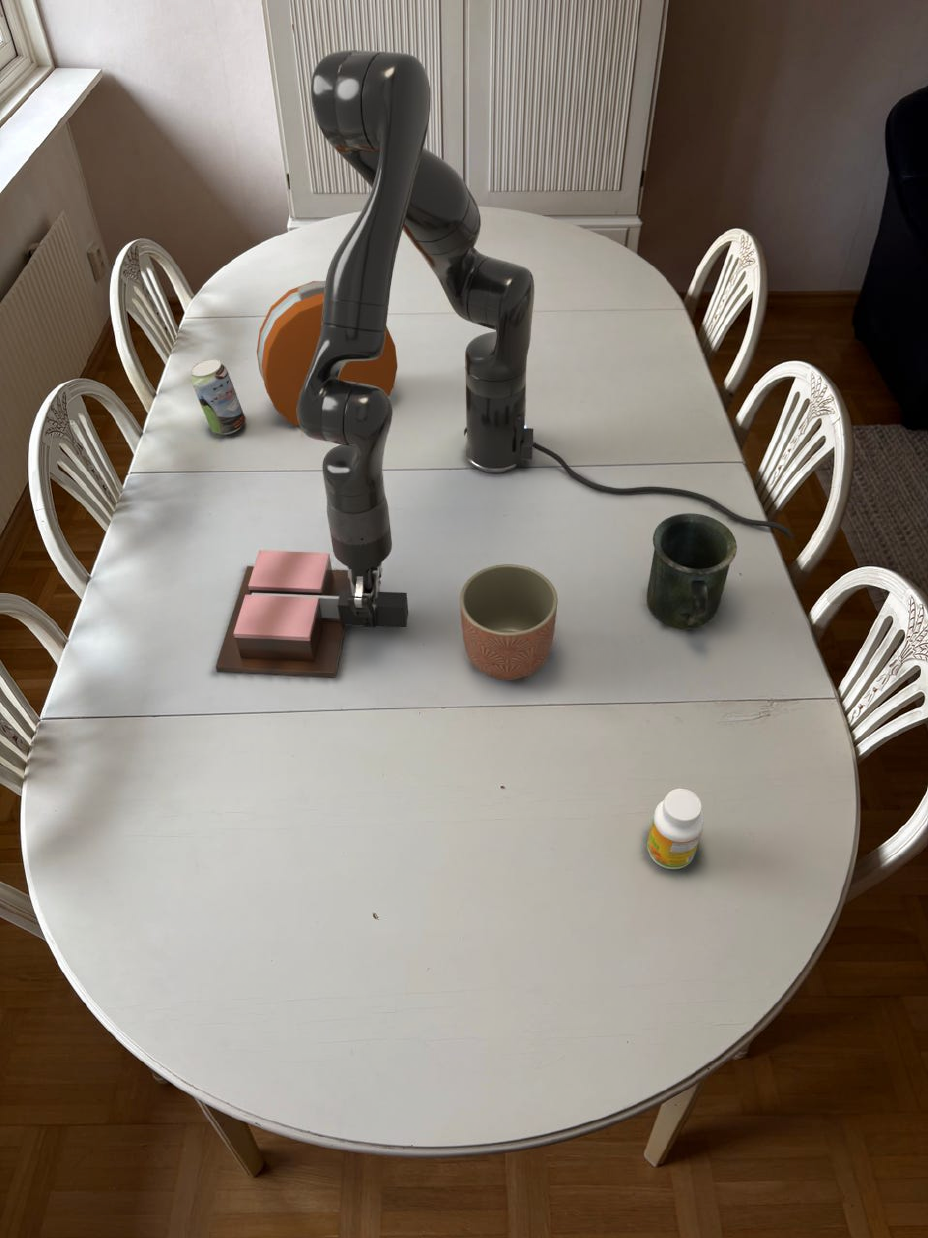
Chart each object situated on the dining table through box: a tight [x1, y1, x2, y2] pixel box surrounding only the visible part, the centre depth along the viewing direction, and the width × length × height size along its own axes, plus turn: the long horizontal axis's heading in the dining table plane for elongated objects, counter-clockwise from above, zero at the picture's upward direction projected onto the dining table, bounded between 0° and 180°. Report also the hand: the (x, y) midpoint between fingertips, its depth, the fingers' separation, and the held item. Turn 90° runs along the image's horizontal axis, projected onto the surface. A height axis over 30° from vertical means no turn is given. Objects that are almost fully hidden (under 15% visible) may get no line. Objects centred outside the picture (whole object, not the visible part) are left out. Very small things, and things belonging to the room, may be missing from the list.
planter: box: [459, 563, 559, 681], centre depth 130 cm, size 12×12×11 cm
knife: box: [251, 590, 409, 629], centre depth 136 cm, size 21×3×4 cm, turn 86°
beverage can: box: [190, 358, 246, 436], centre depth 164 cm, size 6×7×12 cm
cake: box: [215, 549, 351, 678], centre depth 136 cm, size 16×19×6 cm
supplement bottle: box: [646, 788, 705, 870], centre depth 110 cm, size 5×5×10 cm
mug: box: [645, 512, 738, 630], centre depth 134 cm, size 11×15×12 cm
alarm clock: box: [256, 280, 398, 427], centre depth 164 cm, size 22×10×23 cm, turn 108°
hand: (371, 615), depth 136 cm, fingers closed on knife, 3 cm apart
